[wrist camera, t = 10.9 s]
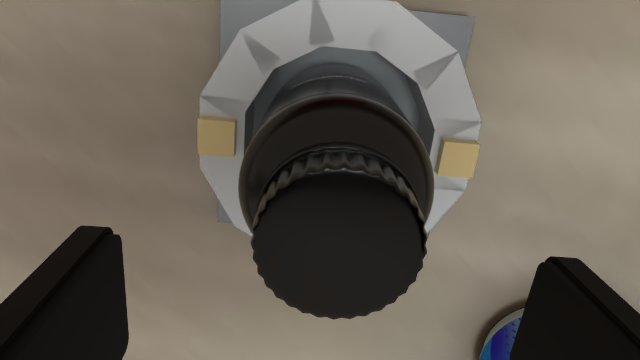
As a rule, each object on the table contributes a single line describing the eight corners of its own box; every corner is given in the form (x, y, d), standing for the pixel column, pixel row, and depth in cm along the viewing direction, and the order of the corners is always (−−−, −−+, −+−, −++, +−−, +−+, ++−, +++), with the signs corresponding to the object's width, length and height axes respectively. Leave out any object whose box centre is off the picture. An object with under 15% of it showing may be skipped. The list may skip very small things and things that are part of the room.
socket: (216, 217, 26) (197, 259, 22) (219, -16, 21) (194, -21, 17) (427, 234, 26) (449, 279, 22) (475, 11, 22) (513, 13, 17)
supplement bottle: (341, 31, 21) (370, 62, 10) (423, 137, 23) (522, 263, 12) (237, 120, 23) (159, 234, 11) (321, 213, 25) (324, 386, 13)
